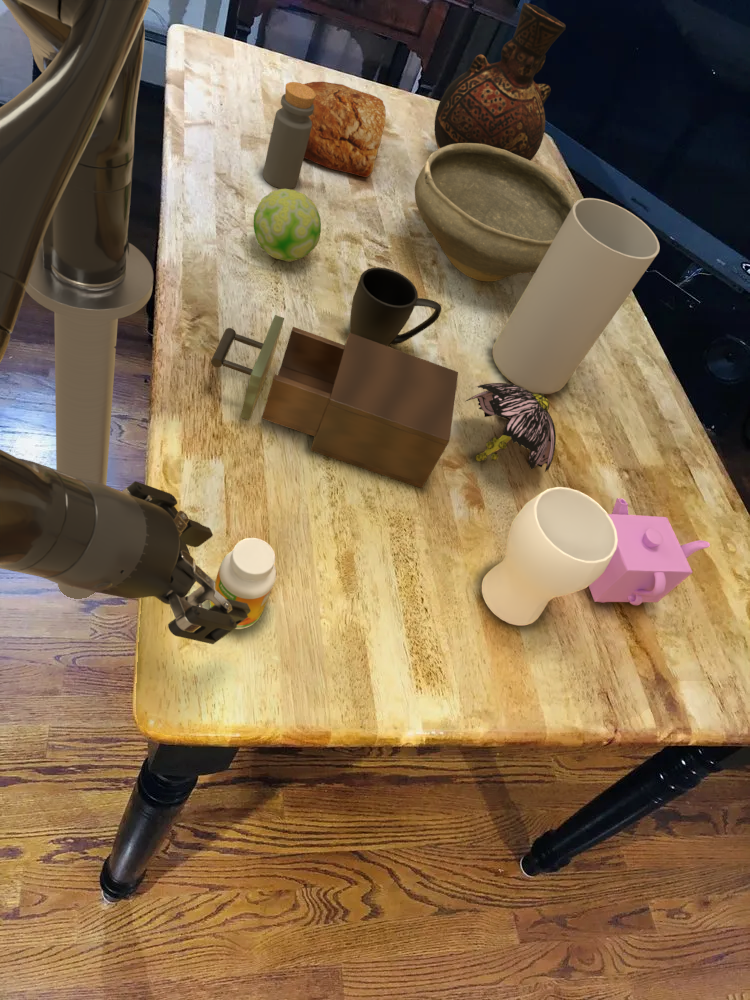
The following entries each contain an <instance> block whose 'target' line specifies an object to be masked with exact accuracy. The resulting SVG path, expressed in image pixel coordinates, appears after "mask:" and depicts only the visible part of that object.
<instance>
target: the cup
mask: <svg viewBox="0 0 750 1000" xmlns="http://www.w3.org/2000/svg"><path fill="white" fill-rule="evenodd" d="M608 514H609V513H608V512H607V511H606V510H605V509H604V507H602V506H601V504H599V502H597V501H596V500H595V499H594V498H592V497H590V496H589V495H587V494H586V493H584V492H581V491H580V490H578V489H575V488H574V489H573V488H570V487H567V486H566V487H564V486H555V487H550V488H547V489H545V490H543V491H542V492H540V493H539V494H537V495H536V496H534V497H533V498H532V499H530V500H529V501H527V502H526V503H525V504H524V505H523V506H522V508H521V509H520V510H519V511H518V512H517V514H516V516H515V517H514V518H513V520H512V521H511V524H510V527H509V531H508V535H507V538H506V542H505V555H504V557H503V558H502V561H500V562H499V563H498V564H496V565H494V566H493V567H492V568H491V569H490V570H489V571H488V572H487V573H486V574H485V575H484V576H483V578H482V582H481V594H482V597H483V600H484V602H485V604H486V606H487V608H488V609H489V610H490V611H491V612H492V613H493V614H494V616H496V617H497V618H498V619H500V620H501V621H503V622H505V623H507V624H509V625H514V626H528V625H531V624H533V623H534V622H536V621H537V620H538V619H539V617H540V616H541V615H542V613H543V612H544V610H545V608H546V607H547V605H548V603H549V602H550V601H551V600H552V599H554V598H558V597H566V596H568V595H572V594H575V593H577V592H579V591H583V590H585V589H586V588H589V585H591V584H592V583H593V582H594V581H595V580H596V579H597V578H598V577H599V576H601V575H602V574H603V573H604V571H605V569H606V568H607V566H608V564H609V562H610V560H611V558H612V557H613V555H614V553H615V551H616V548H617V542H618V538H617V532H616V528H615V526H614V524H613V521H612V519H611V518H610V517H609V515H608Z"/></svg>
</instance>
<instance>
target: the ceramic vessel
mask: <svg viewBox="0 0 750 1000" xmlns="http://www.w3.org/2000/svg"><path fill="white" fill-rule="evenodd" d="M564 31H566V24H565V23H564V22H562V21H560V20H559V19H558V18H557V17H555V16H553V15H552V14H549V13H548V12H547V11H546V10H544V9H542V7H541V8H540V7H538V6H537V5H535V4H532V3H528V2H524V3H523V4H522V6H521V9H520V13H519V18H518V22H517V26H516V29H515V31H514V35H513V37H512V38H511V39H510V40H509V41H507V42H506V43H505V44H503V46H502V48H501V52H500V56H501V59H500V61H496V62H492V63H489V62H488V59H487V58H486V56H485V55H484V54H478V55H476V56H475V57H474V58H473V60H472V62H471V64H470V67H469V68H468V69H467V71H465V72H464V73H462V74H461V75H459V76H458V77H457V78H456V79H455V80H453V81H452V82H451V83H450V84H448V86H447V88H446V89H445V91H444V93H443V95H442V96H441V99H440V100H439V102H438V105H437V108H436V111H435V116H434V117H435V118H434V138H435V142H436V146H437V150H438V149H440V148H442V147H445V146H447V145H451V144H457V143H477V144H485V145H489V146H492V147H495V148H499V149H504V150H506V151H509V152H511V153H513V154H516V155H518V156H520V157H523V158H525V159H527V160H530V161H532V160H533V158H534V157H535V156H536V155H537V153H538V151H539V150H540V148H541V145H542V142H543V140H544V135H545V131H546V112H545V108H544V104H545V103H546V101H547V99H548V97H549V96H550V94H551V91H552V90H551V89H552V88H551V86H550V85H549V84H546V83H536V81H535V80H534V77H535V76H536V75H537V74H539V72H540V71H541V70H542V68H543V67H544V64H545V62H546V58H547V56H546V53H547V52H548V51H549V49H550V47H551V46H552V45H553V44H554V42H556V40H557V39H558V38H559V37H560V36H561V35H562V34H563V32H564Z"/></svg>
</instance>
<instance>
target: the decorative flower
mask: <svg viewBox="0 0 750 1000" xmlns="http://www.w3.org/2000/svg"><path fill="white" fill-rule="evenodd" d="M475 388H477V389H482V390H485V391H482V392H479V393H478V394H475V395H473V396H471V397H470V398H468V399H466V400H465V402H469V401H471V400H474V399H475V400H477V402H478V403H477V405H478V406H479V408H478V409H479V410H481V411H483V414H484V418H487V417H493V416H497V417H499V418H501V419H502V418H503V419H506V420H508V421H507V422H506V424H505V426H504V429H503V431H502V435H501V436H500V437H498V436H494V437H492V438H491V440H488V441H487V442H486V444H485V447H486V449H485V450H484V452H480V453H478V454H476V455H475V458H474V459H475V461H476V462H477V463H481V462H484V461H486V460H487V459H488V456H489V455H490V459H491V461H495V462H496V461H498V459H499V457H500V454H499V453H497V451H499V450H506V449H507V447H508V443H509V442H510V441H512V444H515V443H516V444H517V445H518V446H519V447H521V446H522V447H523V448H525V450H528V451H529V452H528V454H529V457H528V460H527V463H528V466H529V469H530V470H534V469H535V468H536V467H539V468H542V467H543V466H544V465H545V464H546V466H545V469H544V473H546V472H548V471H549V470H550V467H551V465H552V462H553V460H554V455H555V452H556V451H555V450H556V443H557V442H556V441H557V439H556V437H557V435H556V428H555V423H554V421H553V418H552V416H551V414H550V413H549V409H550V400H549V399H548V398H547V396H546V395H545V394H541V393H533V392H529V391H528V390H526V389H524V388H522V387H519V386H516V385H515V384H513V383H508V382H507V383H505V382H491V383H485V384H480V385H477V386H475Z"/></svg>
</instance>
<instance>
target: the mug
mask: <svg viewBox="0 0 750 1000" xmlns="http://www.w3.org/2000/svg"><path fill="white" fill-rule="evenodd" d="M415 307H425V308H431V309H433V310H434V311H433V313H432V314H431V315H430V316H429V317H428V318H426V320H424V321H422V322H421V323H420V324H418V325H416V326H415V327H413V328H412V329H409V330H407V331H406V332H403V333H401V331H402V330H403V328H404V327H405V326H406V324H407V322H409V319H410V318H411V316H412V313H413V311H414V309H415ZM441 312H442V305H441V304H440V303H439V302H437V301H435V300H431V299H428V298H421V297H419V294H418V290H417V288H416V286H415V285H414V283H413V282H412V281H411V280H410V279H409V278H408V277H407V276H405V275H403V274H402V273H400V272H398V271H397V270H393V269H391V268H387V267H378V266H376V267H371V268H367V269H366V270H364V271H363V272H362V273H361V275H360V277H359V280H358V282H357V285H356V288H355V291H354V294H353V297H352V301H351V307H350V317H349V318H350V320H349V321H350V322H349V325H350V326H349V327H350V328H349V333H352V334H355V335H358V336H361V337H363V338H366V339H369V340H372V341H374V342H377V343H380V344H383V345H385V346H388V347H389V345H392V346H393V345H399V344H402V343H404V342H406V341H408V340H409V339H411V338H413V337H415V336H416V335H418V334H419V333H421V332H423V331H424V330H427V328H429V327H430V326H432V325H433V324H434V323H435V322H436V321H437V320H438V319H439V317H440V316H441Z"/></svg>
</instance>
